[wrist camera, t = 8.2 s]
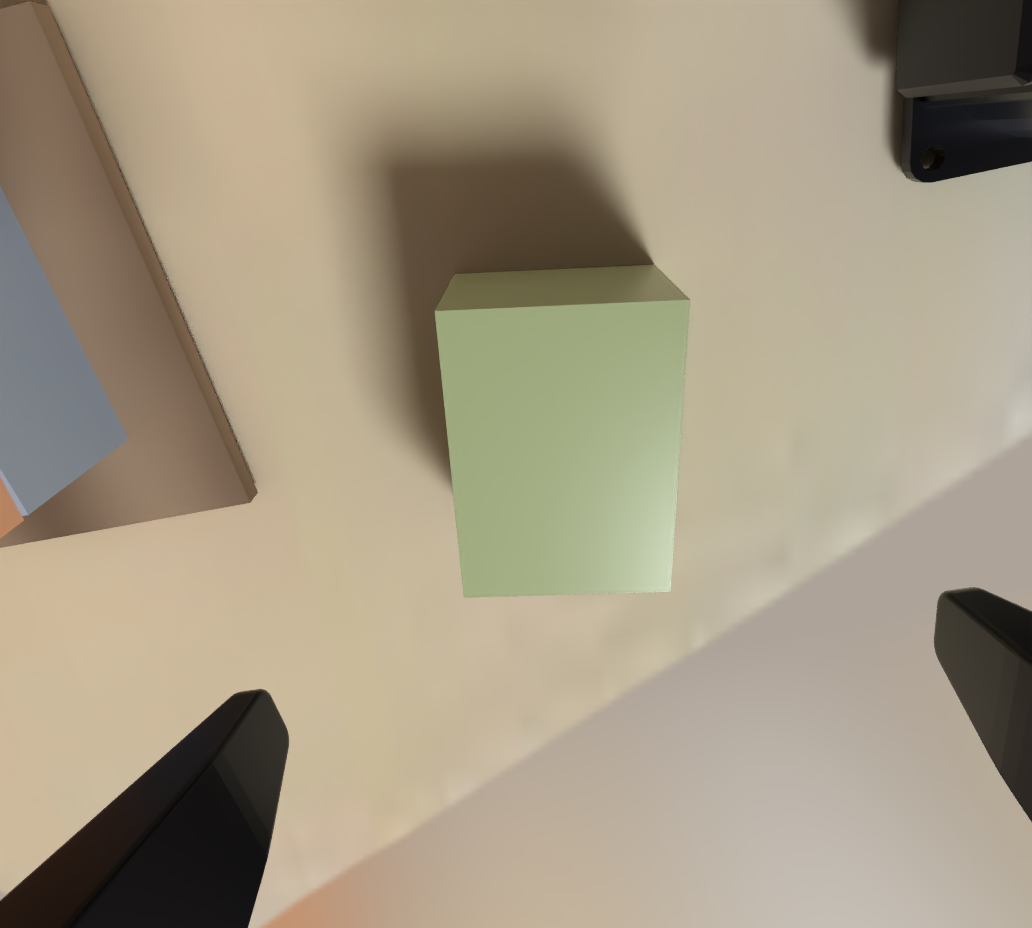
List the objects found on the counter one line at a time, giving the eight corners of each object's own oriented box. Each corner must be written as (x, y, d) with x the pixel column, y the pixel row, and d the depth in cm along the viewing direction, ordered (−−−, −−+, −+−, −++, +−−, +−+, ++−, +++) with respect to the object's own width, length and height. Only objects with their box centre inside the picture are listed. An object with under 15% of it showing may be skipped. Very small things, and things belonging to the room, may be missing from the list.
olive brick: (654, 264, 16) (690, 299, 13) (643, 508, 20) (670, 591, 16) (454, 273, 17) (434, 310, 13) (475, 514, 20) (463, 597, 16)
